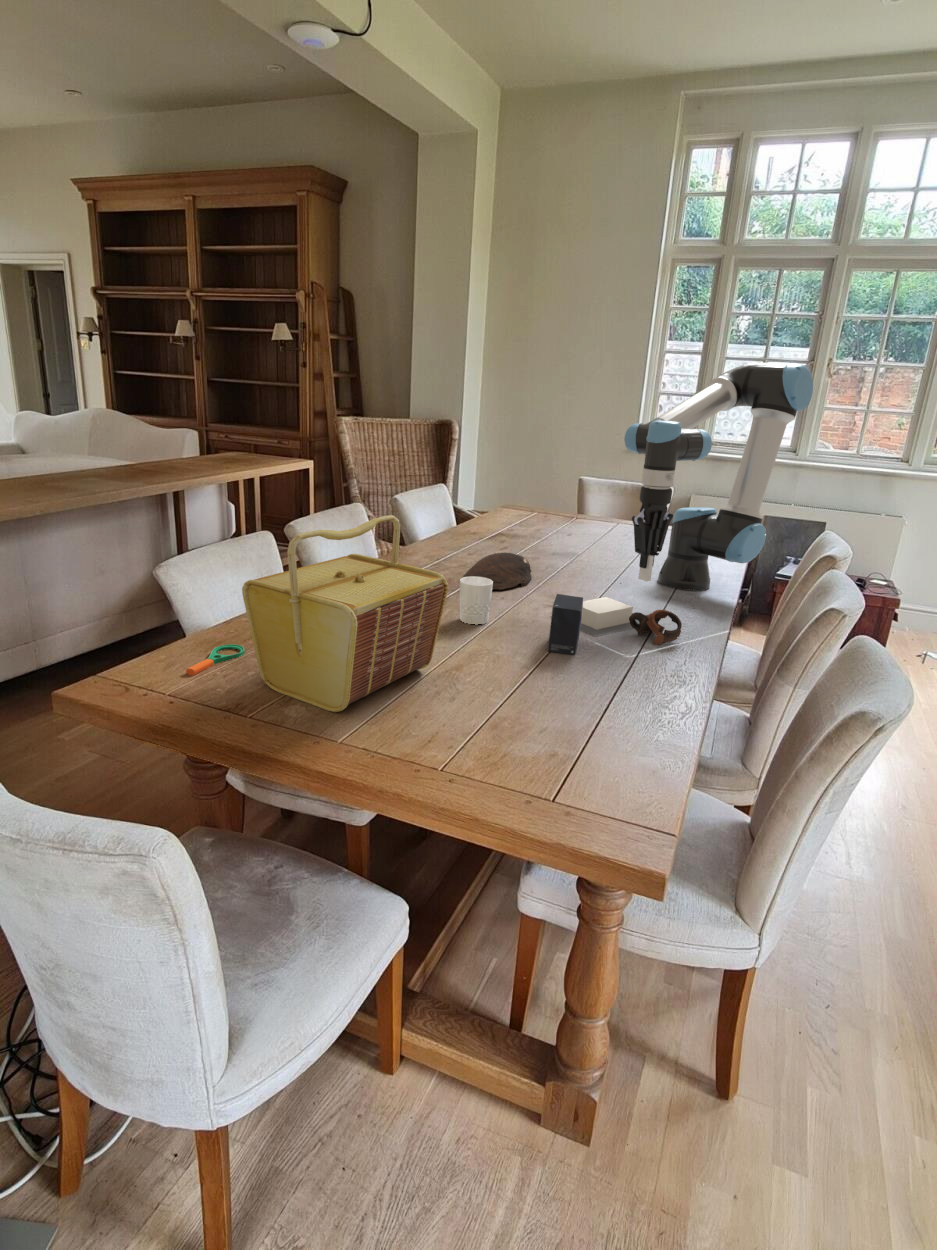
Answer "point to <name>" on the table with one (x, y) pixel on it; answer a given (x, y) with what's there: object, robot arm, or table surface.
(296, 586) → the picnic basket
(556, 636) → the small box
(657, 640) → the brown curved piece
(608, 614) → the tall block
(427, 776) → the table surface
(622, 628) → the mat
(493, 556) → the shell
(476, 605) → the white cup
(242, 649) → the magnifying glass
